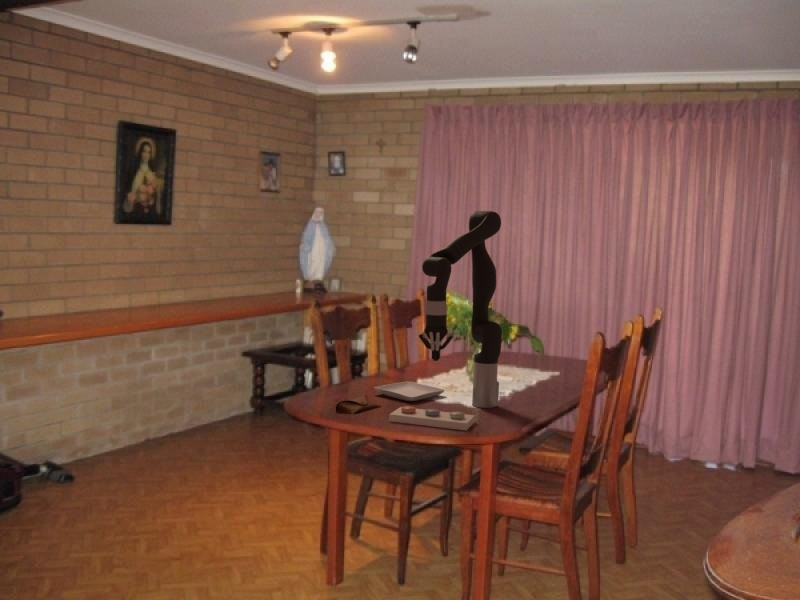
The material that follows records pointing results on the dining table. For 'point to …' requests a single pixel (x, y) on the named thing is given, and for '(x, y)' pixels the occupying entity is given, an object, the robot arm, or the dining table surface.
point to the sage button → (457, 415)
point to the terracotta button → (408, 409)
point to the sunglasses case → (356, 405)
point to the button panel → (432, 419)
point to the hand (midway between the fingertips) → (435, 360)
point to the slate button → (432, 412)
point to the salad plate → (409, 391)
